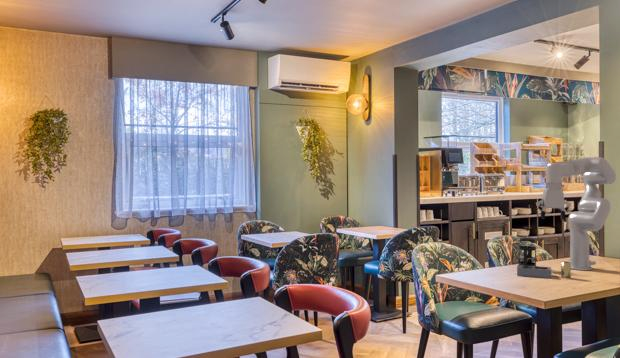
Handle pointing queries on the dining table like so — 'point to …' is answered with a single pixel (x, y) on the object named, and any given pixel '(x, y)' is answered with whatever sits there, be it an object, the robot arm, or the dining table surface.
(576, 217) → the robot arm
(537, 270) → the block
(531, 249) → the french press
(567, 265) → the brass fitting
